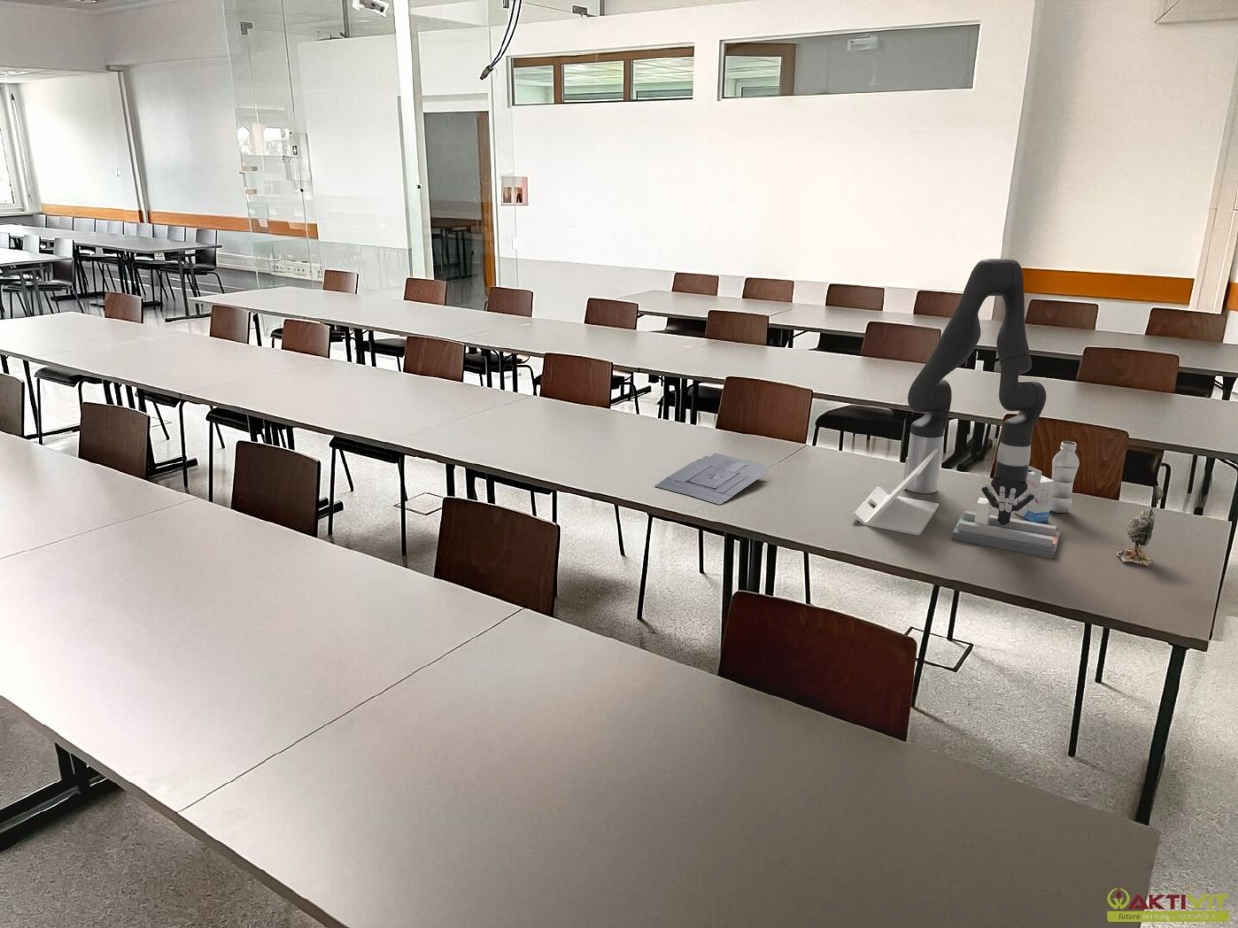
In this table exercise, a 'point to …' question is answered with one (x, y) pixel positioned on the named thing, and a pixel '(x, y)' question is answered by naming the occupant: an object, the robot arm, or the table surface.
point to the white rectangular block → (982, 511)
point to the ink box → (1037, 497)
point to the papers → (714, 477)
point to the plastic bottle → (1064, 477)
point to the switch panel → (1005, 542)
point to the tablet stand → (897, 507)
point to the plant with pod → (1141, 533)
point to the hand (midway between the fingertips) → (1003, 523)
